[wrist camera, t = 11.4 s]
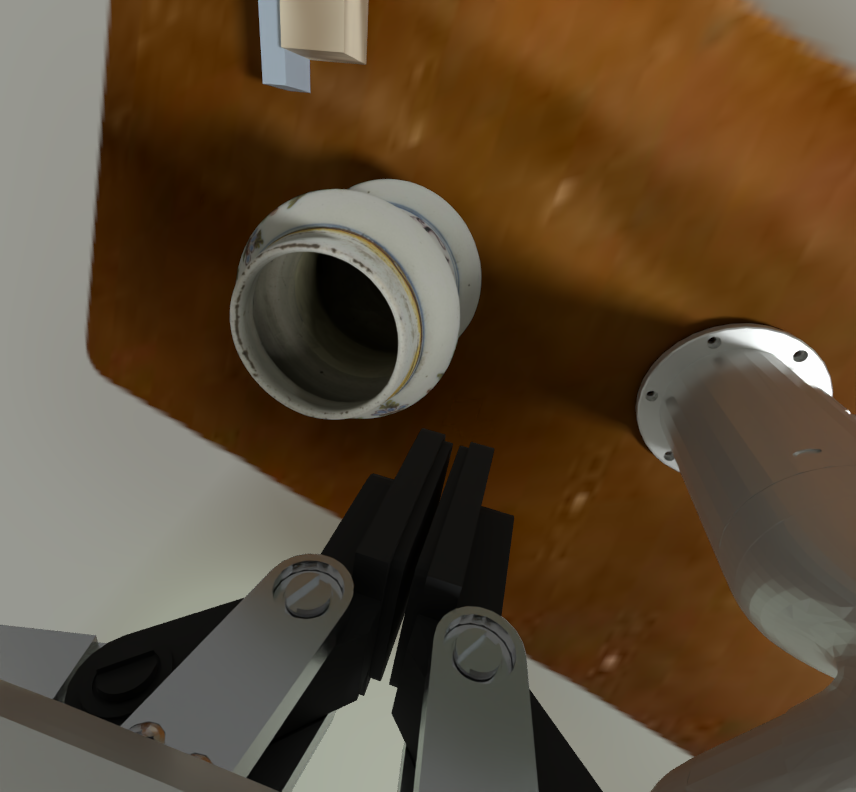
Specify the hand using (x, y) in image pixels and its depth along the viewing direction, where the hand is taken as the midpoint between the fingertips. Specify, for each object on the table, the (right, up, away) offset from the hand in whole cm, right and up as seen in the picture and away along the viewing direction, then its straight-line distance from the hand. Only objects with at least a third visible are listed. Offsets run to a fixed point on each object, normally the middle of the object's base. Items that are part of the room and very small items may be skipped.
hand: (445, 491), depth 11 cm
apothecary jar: (-2, +12, +26) cm, 29 cm away
